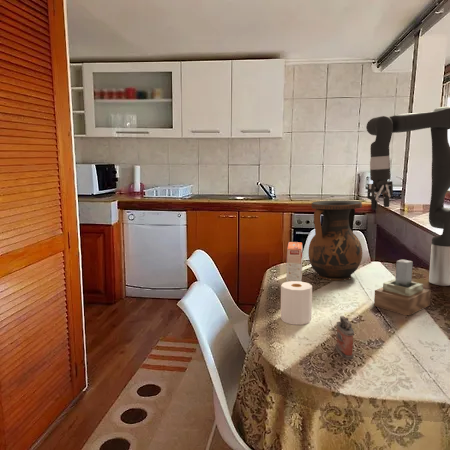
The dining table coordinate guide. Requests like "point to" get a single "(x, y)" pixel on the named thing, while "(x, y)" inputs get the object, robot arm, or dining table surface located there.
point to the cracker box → (294, 262)
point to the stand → (402, 297)
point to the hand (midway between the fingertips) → (380, 208)
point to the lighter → (345, 338)
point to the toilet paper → (296, 302)
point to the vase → (335, 240)
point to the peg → (403, 273)
